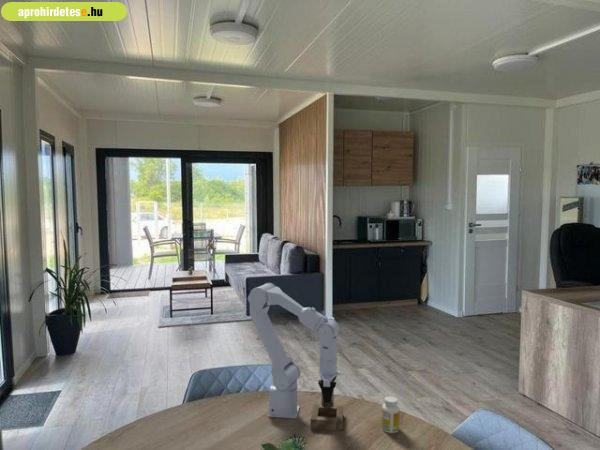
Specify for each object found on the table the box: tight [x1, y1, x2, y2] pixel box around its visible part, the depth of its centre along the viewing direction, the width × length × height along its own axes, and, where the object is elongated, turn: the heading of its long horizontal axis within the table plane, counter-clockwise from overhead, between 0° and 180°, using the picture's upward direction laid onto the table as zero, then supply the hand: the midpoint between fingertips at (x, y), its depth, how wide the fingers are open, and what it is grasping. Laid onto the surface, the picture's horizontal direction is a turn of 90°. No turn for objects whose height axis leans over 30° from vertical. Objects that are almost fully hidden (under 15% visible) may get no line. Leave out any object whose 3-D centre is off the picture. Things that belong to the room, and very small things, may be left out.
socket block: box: [310, 403, 344, 432], centre depth 139 cm, size 10×10×3 cm
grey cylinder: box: [320, 379, 335, 408], centre depth 138 cm, size 4×4×8 cm
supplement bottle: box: [381, 395, 401, 434], centre depth 134 cm, size 5×5×10 cm
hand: (327, 399), depth 138 cm, fingers closed on grey cylinder, 4 cm apart
